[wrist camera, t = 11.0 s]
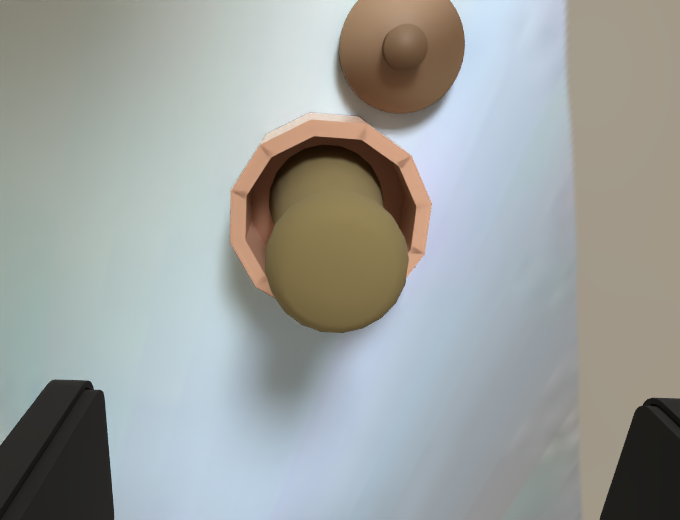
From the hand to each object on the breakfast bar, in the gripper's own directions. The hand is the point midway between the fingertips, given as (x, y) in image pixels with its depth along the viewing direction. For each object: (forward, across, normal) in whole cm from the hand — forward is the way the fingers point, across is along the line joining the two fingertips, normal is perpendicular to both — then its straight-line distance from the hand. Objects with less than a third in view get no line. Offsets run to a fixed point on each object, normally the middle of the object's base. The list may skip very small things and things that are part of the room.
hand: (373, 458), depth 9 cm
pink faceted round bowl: (+20, 0, +1) cm, 21 cm away
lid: (+21, -3, -7) cm, 22 cm away
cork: (+20, 0, +1) cm, 20 cm away
